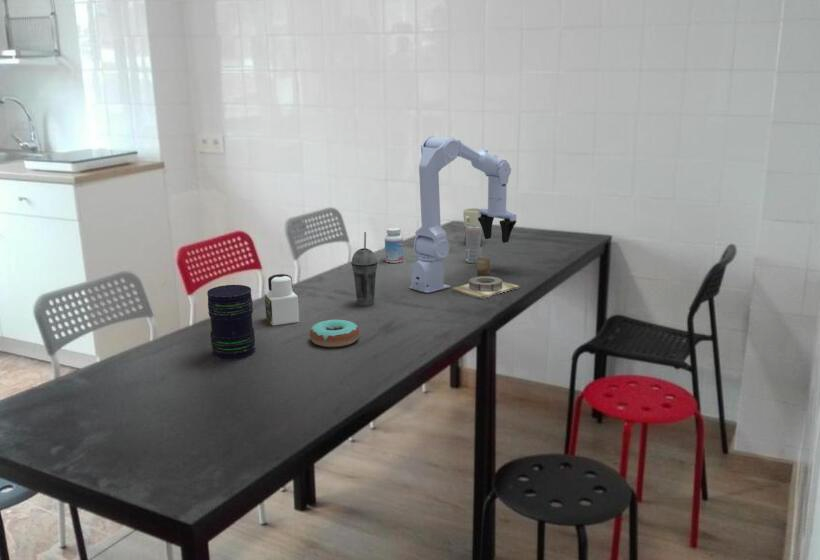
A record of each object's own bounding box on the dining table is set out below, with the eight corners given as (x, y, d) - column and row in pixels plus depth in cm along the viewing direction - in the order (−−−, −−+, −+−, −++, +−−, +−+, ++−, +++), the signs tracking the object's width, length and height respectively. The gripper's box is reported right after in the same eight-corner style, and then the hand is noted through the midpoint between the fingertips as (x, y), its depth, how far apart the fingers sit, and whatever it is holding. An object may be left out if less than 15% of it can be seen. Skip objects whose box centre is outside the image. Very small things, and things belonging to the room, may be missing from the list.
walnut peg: (483, 280, 233) (483, 261, 231) (474, 278, 236) (474, 259, 234) (492, 278, 235) (492, 259, 234) (483, 275, 238) (483, 257, 237)
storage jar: (215, 363, 169) (210, 298, 165) (208, 349, 178) (203, 287, 174) (260, 356, 173) (255, 293, 169) (251, 342, 181) (246, 282, 177)
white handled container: (265, 318, 200) (262, 274, 197) (292, 314, 202) (289, 271, 199) (272, 326, 193) (269, 280, 190) (299, 322, 196) (297, 277, 193)
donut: (348, 330, 190) (347, 314, 189) (367, 344, 180) (367, 328, 179) (302, 338, 185) (302, 322, 184) (320, 353, 175) (319, 336, 174)
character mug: (472, 240, 288) (472, 206, 285) (488, 242, 284) (489, 208, 281) (456, 246, 280) (456, 211, 276) (473, 248, 276) (473, 212, 272)
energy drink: (481, 259, 258) (481, 225, 255) (481, 263, 253) (481, 228, 250) (465, 259, 259) (466, 225, 256) (465, 263, 254) (465, 228, 251)
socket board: (481, 299, 213) (481, 289, 213) (451, 290, 222) (451, 281, 222) (519, 288, 224) (519, 279, 223) (489, 280, 232) (489, 271, 232)
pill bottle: (403, 263, 255) (402, 230, 252) (384, 263, 255) (384, 230, 252) (403, 259, 261) (402, 227, 258) (385, 259, 261) (385, 227, 258)
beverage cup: (348, 305, 209) (345, 234, 204) (358, 298, 216) (356, 229, 211) (372, 308, 207) (370, 236, 202) (382, 300, 213) (380, 231, 208)
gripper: (523, 198, 234) (522, 241, 238) (489, 193, 245) (488, 235, 249) (507, 201, 230) (507, 245, 233) (473, 196, 241) (473, 238, 244)
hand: (496, 240), depth 241 cm, fingers open, 7 cm apart
